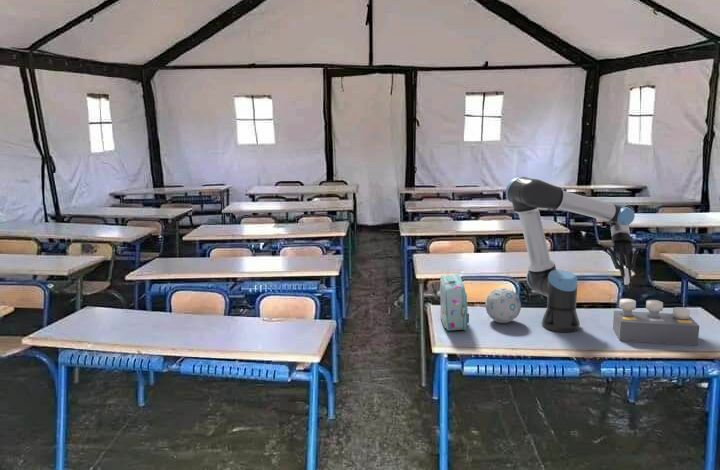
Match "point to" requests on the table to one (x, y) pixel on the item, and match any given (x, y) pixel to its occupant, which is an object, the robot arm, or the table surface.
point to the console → (655, 329)
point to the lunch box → (453, 303)
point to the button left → (627, 306)
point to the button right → (681, 313)
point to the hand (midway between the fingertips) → (627, 283)
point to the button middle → (654, 308)
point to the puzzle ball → (503, 305)
